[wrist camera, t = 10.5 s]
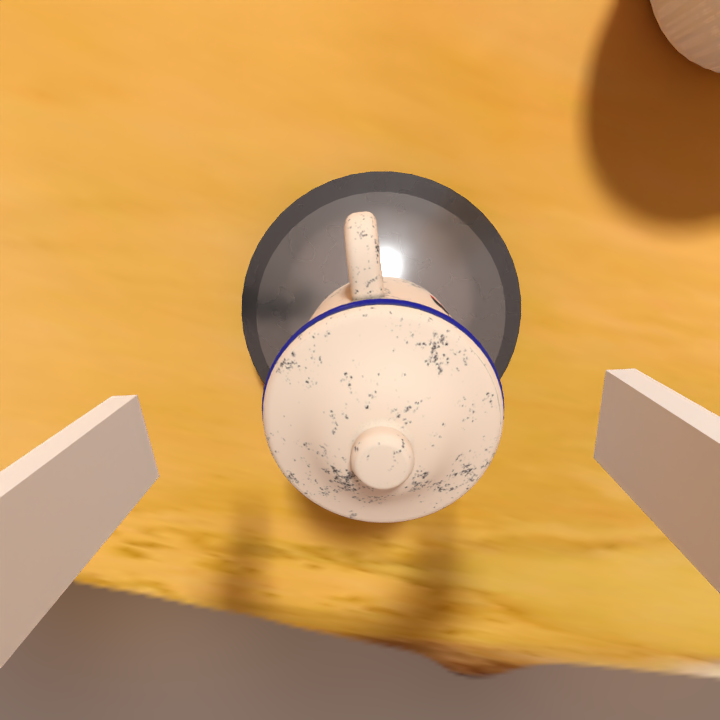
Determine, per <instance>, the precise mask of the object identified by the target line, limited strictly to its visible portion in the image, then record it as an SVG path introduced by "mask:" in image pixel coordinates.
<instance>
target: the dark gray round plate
mask: <svg viewBox="0 0 720 720" xmlns="http://www.w3.org/2000/svg"><path fill="white" fill-rule="evenodd" d="M365 211H367V212H370V213H372V214H373V215H374V216H375V218H376V222H377V231H378V239H379V248H380V257H381V266H382V275H383V276H389V277H396V278H401V279H404V280H407V281H410V282H412V283H415V284H417V285H419V286H420V287H422V288H424V289H425V290H427V291H428V292H429V293H431V294H432V295H433V296H434V297H435V298H436V299H437V300H438V301H439V302H440V303H441V304H442V306H443V307H444V308H445V309H446V311H447V312H448V313H449V315H450V316H451V317H452V318H453V319H454V320H455V321H457V322H458V323H460V324H461V325H462V326H464V327H465V328H466V329H467V330H468V331H469V332H470V333H471V334H473V336H474V337H475V338H476V339H477V340H478V341H479V342H480V343H481V345H482V346H483V347H484V349H485V350H486V352H487V353H488V355H489V356H490V358H491V360H492V362H493V363H494V366H495V368H496V370H497V373H498V375H499V379H501V377H502V375H503V373H504V372H505V370H506V368H507V366H508V364H509V361H510V359H511V357H512V354H513V352H514V349H515V345H516V341H517V338H518V334H519V326H520V319H521V295H520V288H519V282H518V277H517V273H516V270H515V267H514V263H513V260H512V258H511V256H510V253H509V251H508V249H507V247H506V245H505V243H504V241H503V240H502V238H501V236H500V235H499V233H498V232H497V230H496V229H495V227H494V226H493V225H492V224H491V222H490V221H489V220H488V219H487V218H486V217H485V215H484V214H483V213H482V212H481V211H480V210H479V209H477V208H476V207H475V206H474V205H473V204H472V203H471V202H469V201H468V200H467V199H466V198H464V197H463V196H461V195H459V194H458V193H456V192H455V191H453V190H452V189H450V188H448V187H446V186H444V185H441V184H439V183H437V182H435V181H432V180H430V179H426V178H423V177H419V176H416V175H412V174H406V173H398V172H366V173H359V174H353V175H348V176H345V177H342V178H338V179H335V180H332V181H330V182H327V183H325V184H323V185H321V186H319V187H317V188H315V189H313V190H311V191H309V192H308V193H306V194H305V195H303V196H302V197H300V198H299V199H297V200H296V201H295V202H294V203H292V204H291V205H290V206H289V207H288V208H287V209H286V210H284V211H283V212H282V213H281V214H280V215H279V217H278V218H277V219H276V220H275V221H274V222H273V223H272V225H271V226H270V227H269V228H268V230H267V231H266V233H265V234H264V236H263V238H262V239H261V241H260V242H259V244H258V246H257V248H256V250H255V252H254V254H253V257H252V259H251V261H250V264H249V268H248V271H247V274H246V277H245V283H244V289H243V295H242V322H243V331H244V336H245V340H246V344H247V348H248V351H249V354H250V356H251V359H252V362H253V364H254V366H255V368H256V370H257V372H258V374H259V376H260V377H261V379H262V381H263V382H264V384H265V383H266V379H267V376H268V373H269V371H270V368H271V366H272V364H273V362H274V360H275V358H276V356H277V355H278V353H279V352H280V350H281V349H282V347H283V346H284V345H285V343H286V342H287V341H288V340H289V339H290V337H291V336H292V335H293V334H294V333H296V332H297V331H298V330H299V329H300V328H301V327H302V326H304V325H305V324H306V323H307V322H308V321H309V320H310V318H311V317H312V316H313V314H314V313H315V311H316V310H317V308H318V307H319V306H320V304H321V303H322V302H323V301H324V300H325V299H326V298H327V297H328V296H329V295H330V294H331V293H333V292H334V291H335V290H337V289H338V288H340V287H342V286H343V285H345V284H347V283H350V282H349V274H348V267H347V258H346V249H345V235H344V226H345V221H346V219H347V217H348V216H349V215H350V214H352V213H357V212H365Z"/></svg>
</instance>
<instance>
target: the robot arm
mask: <svg viewBox="0 0 720 720" xmlns="http://www.w3.org/2000/svg"><path fill="white" fill-rule="evenodd" d="M594 459H595V460H596V461H597V462H598V463H599V464H600V465H601V466H602V467H603V468H604V470H605V471H606V472H607V473H608V474H609V475H610V476H611V477H612V478H613V479H614V480H615V481H616V482H617V484H618V485H619V486H620V487H621V488H622V489H623V490H624V491H625V492H626V493H627V494H628V495H629V496H630V498H631V499H632V500H633V501H634V502H635V503H636V504H637V505H638V506H639V507H640V508H641V509H642V510H643V512H644V513H645V514H646V515H647V516H648V517H649V518H650V519H651V520H652V521H653V522H654V523H655V524H656V526H657V527H658V528H659V529H660V530H661V531H662V532H663V533H664V534H665V535H666V536H667V537H668V538H669V540H670V541H671V542H672V543H673V544H674V545H675V546H676V547H677V548H678V549H679V550H680V551H681V552H682V553H683V555H684V556H685V557H686V558H687V559H688V560H689V561H690V562H691V563H692V564H693V565H694V566H695V567H696V569H697V570H698V571H699V572H700V573H701V574H702V575H703V576H704V577H705V578H706V579H707V580H708V581H709V583H710V584H711V585H712V586H713V587H714V588H715V589H716V590H717V591H718V592H719V593H720V417H719V416H717V415H716V414H714V413H712V412H710V411H709V410H707V409H705V408H703V407H702V406H700V405H698V404H696V403H694V402H693V401H691V400H689V399H687V398H686V397H684V396H682V395H680V394H679V393H677V392H675V391H673V390H672V389H670V388H668V387H666V386H665V385H663V384H661V383H659V382H657V381H656V380H654V379H652V378H650V377H649V376H647V375H645V374H643V373H642V372H640V371H638V370H636V369H619V370H606V373H605V380H604V387H603V394H602V401H601V408H600V415H599V422H598V430H597V437H596V444H595V451H594ZM158 477H159V473H158V469H157V465H156V462H155V458H154V454H153V451H152V447H151V443H150V440H149V436H148V432H147V429H146V425H145V421H144V418H143V414H142V410H141V407H140V403H139V399H138V396H137V395H126V396H111V397H110V398H108V399H107V400H105V401H104V402H102V403H101V404H99V405H98V406H96V407H95V408H94V409H92V410H91V411H89V412H88V413H86V414H85V415H83V416H82V417H80V418H79V419H77V420H76V421H74V422H73V423H71V424H70V425H68V426H67V427H66V428H64V429H63V430H61V431H60V432H58V433H57V434H55V435H54V436H52V437H51V438H49V439H48V440H46V441H45V442H43V443H42V444H41V445H39V446H38V447H36V448H35V449H33V450H32V451H30V452H29V453H27V454H26V455H24V456H23V457H21V458H20V459H18V460H17V461H16V462H14V463H13V464H11V465H10V466H8V467H7V468H5V469H4V470H2V471H1V472H0V668H1V667H2V666H3V665H4V664H5V662H6V661H7V660H8V659H9V657H10V656H11V655H12V654H13V653H14V651H15V650H16V649H17V648H18V647H19V645H20V644H21V643H22V642H23V641H24V639H25V638H26V637H27V636H28V634H29V633H30V632H31V631H32V630H33V628H34V627H35V626H36V625H37V624H38V622H39V621H40V620H41V619H42V618H43V616H44V615H45V614H46V613H47V611H48V610H49V609H50V608H51V606H52V605H53V604H54V603H55V602H56V601H57V599H58V598H59V597H60V596H61V594H62V593H63V592H64V591H65V590H66V588H67V587H68V586H69V585H70V584H71V583H72V581H73V580H74V579H75V578H76V576H77V575H78V574H79V573H80V572H81V570H82V569H83V568H84V567H85V566H86V564H87V563H88V562H89V561H90V560H91V558H92V557H93V556H94V555H95V553H96V552H97V551H98V550H99V549H100V547H101V546H102V545H103V544H104V543H105V541H106V540H107V539H108V538H109V537H110V535H111V534H112V533H113V532H114V531H115V529H116V528H117V527H118V526H119V524H120V523H121V522H122V521H123V520H124V518H125V517H126V516H127V515H128V514H129V512H130V511H131V510H132V509H133V508H134V506H135V505H136V504H137V503H138V502H139V500H140V499H141V498H142V497H143V495H144V494H145V493H146V492H147V491H148V489H149V488H150V487H151V486H152V485H153V483H154V482H155V481H156V480H157V479H158Z"/></svg>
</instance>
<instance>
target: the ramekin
mask: <svg viewBox="0 0 720 720" xmlns="http://www.w3.org/2000/svg"><path fill="white" fill-rule="evenodd" d="M650 2H651V5H652V9H653V13H654V16H655V18H656V20H657V22H658V24H659V26H660V29H661V30H662V32H663V33H664V34H665V36H666V38H667V39H668V41H669V42H670V43H671V44H672V45H673V46H674V47H675V48H676V50H677V51H678V52H679V53H681V54H682V55H683V56H685V57H686V58H687V59H688V60H689V61H692V62H694V63H696V64H698V65H699V66H701V67H703V68H705V69H710V70H712V71H714V72H717V73H720V0H650Z"/></svg>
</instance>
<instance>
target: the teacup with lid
mask: <svg viewBox="0 0 720 720" xmlns="http://www.w3.org/2000/svg"><path fill="white" fill-rule="evenodd" d="M344 235H345V249H346V258H347V267H348V274H349V282H350V283H347V284H345V285H343V286H342V287H340V288H338V289H337V290H335V291H334V292H333V293H331V294H330V295H329V296H328V297H327V298H326V299H325V300H324V301H323V302H322V303H321V304H320V306H319V307H318V308H317V310H316V311H315V313H314V314H313V316H312V317H311V318H310V320H309V321H308V322H307V323H306V324H305V325H304V326H302V327H301V328H300V329H299V330H298V331H297V332H296V333H294V334H293V335H292V336H291V337H290V339H289V340H288V341H287V342H286V343H285V345H284V346H283V347H282V349H281V350H280V352H279V353H278V355H277V356H276V358H275V360H274V362H273V364H272V366H271V368H270V371H269V373H268V376H267V379H266V383H265V386H264V392H263V399H262V416H263V425H264V431H265V436H266V439H267V443H268V446H269V448H270V451H271V453H272V456H273V457H274V459H275V461H276V463H277V465H278V466H279V468H280V469H281V471H282V472H283V474H284V475H285V476H286V478H287V479H288V480H289V481H290V483H291V484H292V485H293V486H294V487H295V488H296V489H297V490H298V491H300V492H301V493H302V494H303V495H304V496H305V497H307V498H308V499H310V500H311V501H312V502H314V503H316V504H317V505H319V506H321V507H322V508H324V509H326V510H328V511H331V512H333V513H335V514H338V515H341V516H344V517H347V518H350V519H355V520H360V521H366V522H377V523H391V522H401V521H408V520H413V519H417V518H420V517H424V516H427V515H429V514H432V513H435V512H437V511H439V510H441V509H443V508H445V507H447V506H448V505H450V504H452V503H453V502H455V501H456V500H457V499H459V498H460V497H462V496H463V495H464V494H465V493H466V492H467V491H469V490H470V489H471V488H472V487H473V486H474V485H475V484H476V482H477V481H478V480H479V479H480V478H481V476H482V475H483V474H484V472H485V471H486V469H487V468H488V466H489V465H490V463H491V461H492V459H493V457H494V455H495V453H496V450H497V448H498V445H499V442H500V438H501V434H502V428H503V420H504V397H503V391H502V386H501V382H500V379H499V375H498V373H497V370H496V368H495V366H494V363H493V362H492V360H491V358H490V356H489V355H488V353H487V352H486V350H485V349H484V347H483V346H482V345H481V343H480V342H479V341H478V340H477V339H476V338H475V337H474V336H473V334H471V333H470V332H469V331H468V330H467V329H466V328H465V327H464V326H462V325H461V324H460V323H458V322H457V321H455V320H454V319H453V318H452V317H451V316H450V315H449V313H448V312H447V311H446V309H445V308H444V307H443V306H442V304H441V303H440V302H439V301H438V300H437V299H436V298H435V297H434V296H433V295H432V294H431V293H429V292H428V291H427V290H425V289H424V288H422V287H420V286H419V285H417V284H415V283H412V282H410V281H407V280H404V279H401V278H396V277H389V276H383V275H382V266H381V257H380V248H379V239H378V231H377V222H376V218H375V216H374V215H373V214H372V213H370V212H367V211H365V212H357V213H352V214H350V215H349V216H348V217H347V219H346V221H345V226H344Z"/></svg>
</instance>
